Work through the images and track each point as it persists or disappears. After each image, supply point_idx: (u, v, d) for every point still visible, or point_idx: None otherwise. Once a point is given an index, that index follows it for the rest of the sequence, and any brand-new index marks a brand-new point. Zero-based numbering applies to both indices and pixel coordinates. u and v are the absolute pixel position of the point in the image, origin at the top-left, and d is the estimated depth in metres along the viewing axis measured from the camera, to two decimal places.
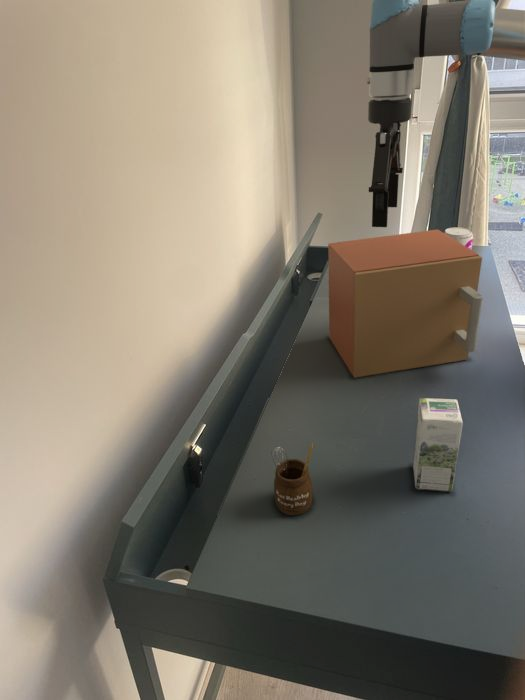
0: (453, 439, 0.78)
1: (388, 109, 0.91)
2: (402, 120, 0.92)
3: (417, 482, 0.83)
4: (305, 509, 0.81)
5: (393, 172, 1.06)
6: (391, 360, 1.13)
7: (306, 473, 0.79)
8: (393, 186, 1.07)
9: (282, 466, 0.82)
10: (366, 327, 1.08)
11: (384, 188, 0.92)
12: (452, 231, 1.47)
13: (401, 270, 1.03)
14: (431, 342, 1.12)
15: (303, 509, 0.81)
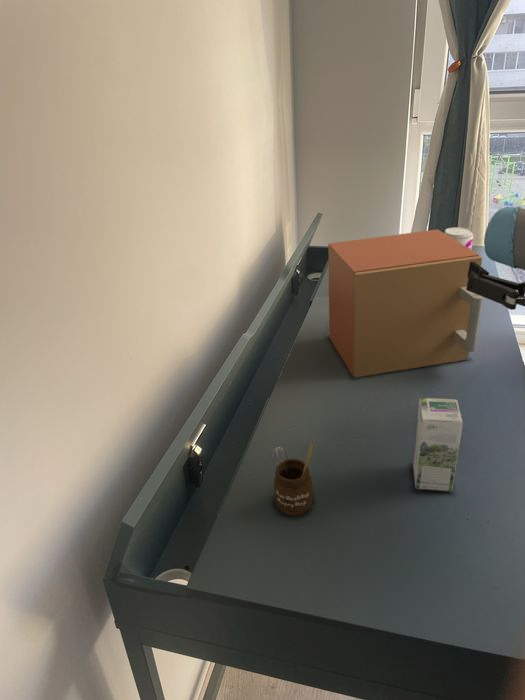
0: (453, 439, 0.78)
1: None
2: None
3: (417, 482, 0.83)
4: (305, 509, 0.81)
5: None
6: (391, 360, 1.13)
7: (306, 473, 0.79)
8: None
9: (282, 466, 0.82)
10: (366, 327, 1.08)
11: None
12: (452, 231, 1.47)
13: (401, 270, 1.03)
14: (431, 342, 1.12)
15: (303, 509, 0.81)
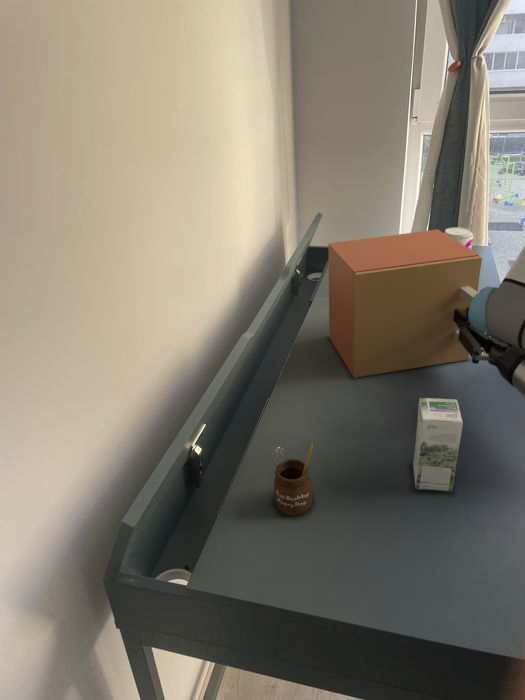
0: (453, 439, 0.78)
1: None
2: None
3: (417, 482, 0.83)
4: (305, 509, 0.81)
5: None
6: (391, 360, 1.13)
7: (306, 473, 0.79)
8: None
9: (282, 466, 0.82)
10: (366, 327, 1.08)
11: None
12: (452, 231, 1.47)
13: (401, 270, 1.03)
14: (431, 342, 1.12)
15: (303, 509, 0.81)
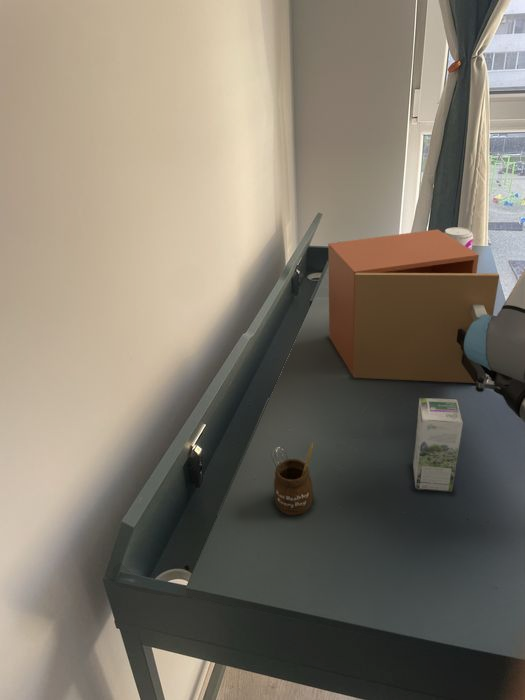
0: (453, 439, 0.78)
1: None
2: None
3: (417, 482, 0.83)
4: (305, 509, 0.81)
5: None
6: (393, 367, 1.10)
7: (306, 473, 0.79)
8: None
9: (282, 466, 0.82)
10: (366, 329, 1.07)
11: None
12: (452, 231, 1.47)
13: (404, 277, 1.00)
14: (438, 357, 1.07)
15: (303, 509, 0.81)
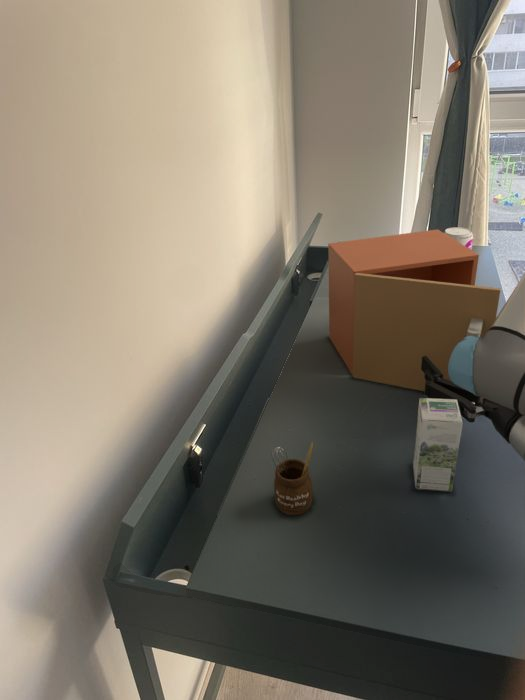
0: (453, 439, 0.78)
1: None
2: None
3: (417, 482, 0.83)
4: (305, 509, 0.81)
5: None
6: (391, 373, 1.08)
7: (306, 473, 0.79)
8: None
9: (282, 466, 0.82)
10: (365, 330, 1.06)
11: None
12: (452, 231, 1.47)
13: (402, 282, 0.98)
14: None
15: (303, 509, 0.81)
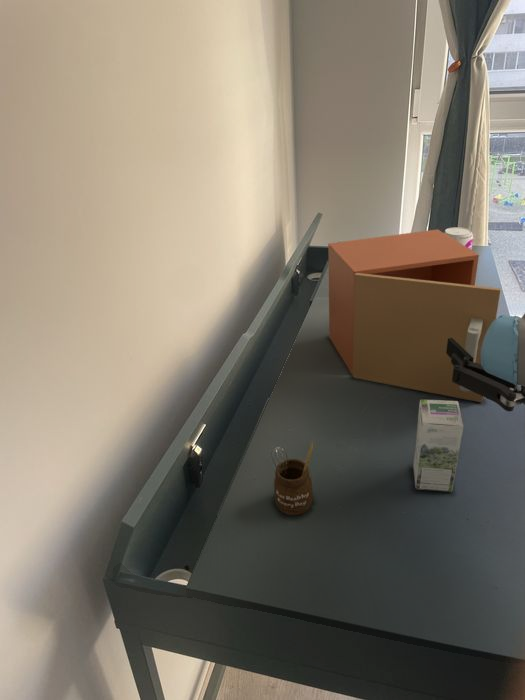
0: (453, 442, 0.77)
1: None
2: None
3: (417, 482, 0.83)
4: (305, 509, 0.81)
5: None
6: (391, 373, 1.08)
7: (306, 473, 0.79)
8: None
9: (282, 466, 0.82)
10: (365, 330, 1.06)
11: None
12: (452, 231, 1.47)
13: (402, 282, 0.98)
14: (436, 368, 1.03)
15: (303, 509, 0.81)
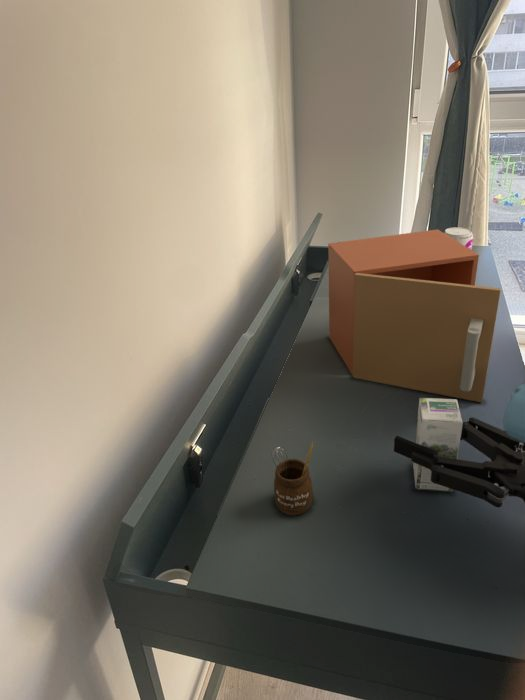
0: (453, 439, 0.78)
1: None
2: None
3: (417, 482, 0.83)
4: (305, 509, 0.81)
5: None
6: (391, 373, 1.08)
7: (306, 473, 0.79)
8: None
9: (282, 466, 0.82)
10: (365, 330, 1.06)
11: (472, 418, 0.84)
12: (452, 231, 1.47)
13: (402, 282, 0.98)
14: (436, 368, 1.03)
15: (303, 509, 0.81)
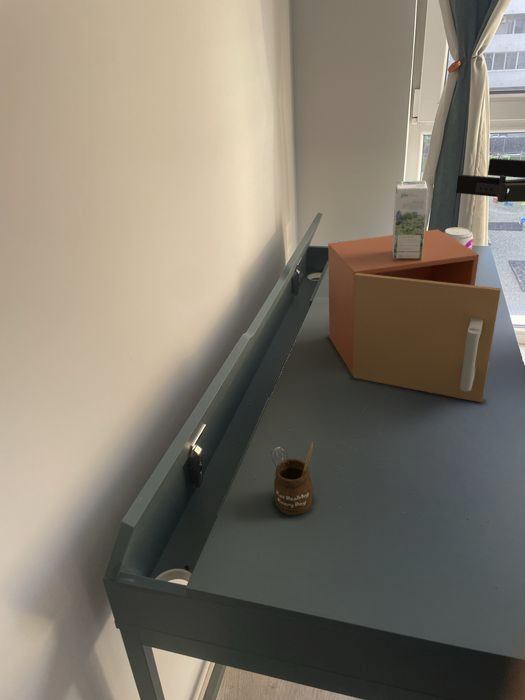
0: (421, 206, 1.00)
1: None
2: None
3: (394, 252, 1.05)
4: (305, 509, 0.81)
5: None
6: (391, 373, 1.08)
7: (306, 473, 0.79)
8: None
9: (282, 466, 0.82)
10: (365, 330, 1.06)
11: None
12: (452, 231, 1.47)
13: (402, 282, 0.98)
14: (436, 368, 1.03)
15: (303, 509, 0.81)
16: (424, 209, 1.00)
